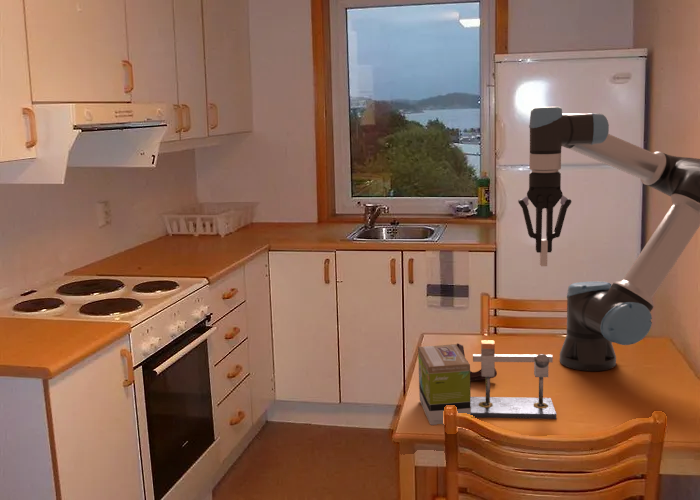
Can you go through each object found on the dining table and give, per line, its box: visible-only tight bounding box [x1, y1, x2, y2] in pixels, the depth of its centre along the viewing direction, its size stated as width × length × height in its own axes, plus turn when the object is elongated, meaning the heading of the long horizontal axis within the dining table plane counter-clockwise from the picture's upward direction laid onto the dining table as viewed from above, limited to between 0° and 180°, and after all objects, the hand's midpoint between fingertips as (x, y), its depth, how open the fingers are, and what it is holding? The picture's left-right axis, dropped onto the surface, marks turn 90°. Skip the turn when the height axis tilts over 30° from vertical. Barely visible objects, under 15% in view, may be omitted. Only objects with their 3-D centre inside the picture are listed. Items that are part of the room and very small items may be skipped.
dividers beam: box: [472, 353, 554, 404], centre depth 185 cm, size 18×3×13 cm, turn 83°
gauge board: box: [471, 396, 557, 420], centre depth 186 cm, size 20×10×1 cm, turn 83°
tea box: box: [417, 343, 472, 426], centre depth 185 cm, size 15×10×15 cm, turn 5°
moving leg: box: [480, 339, 496, 403], centre depth 185 cm, size 3×3×15 cm
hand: (543, 265), depth 194 cm, fingers closed
